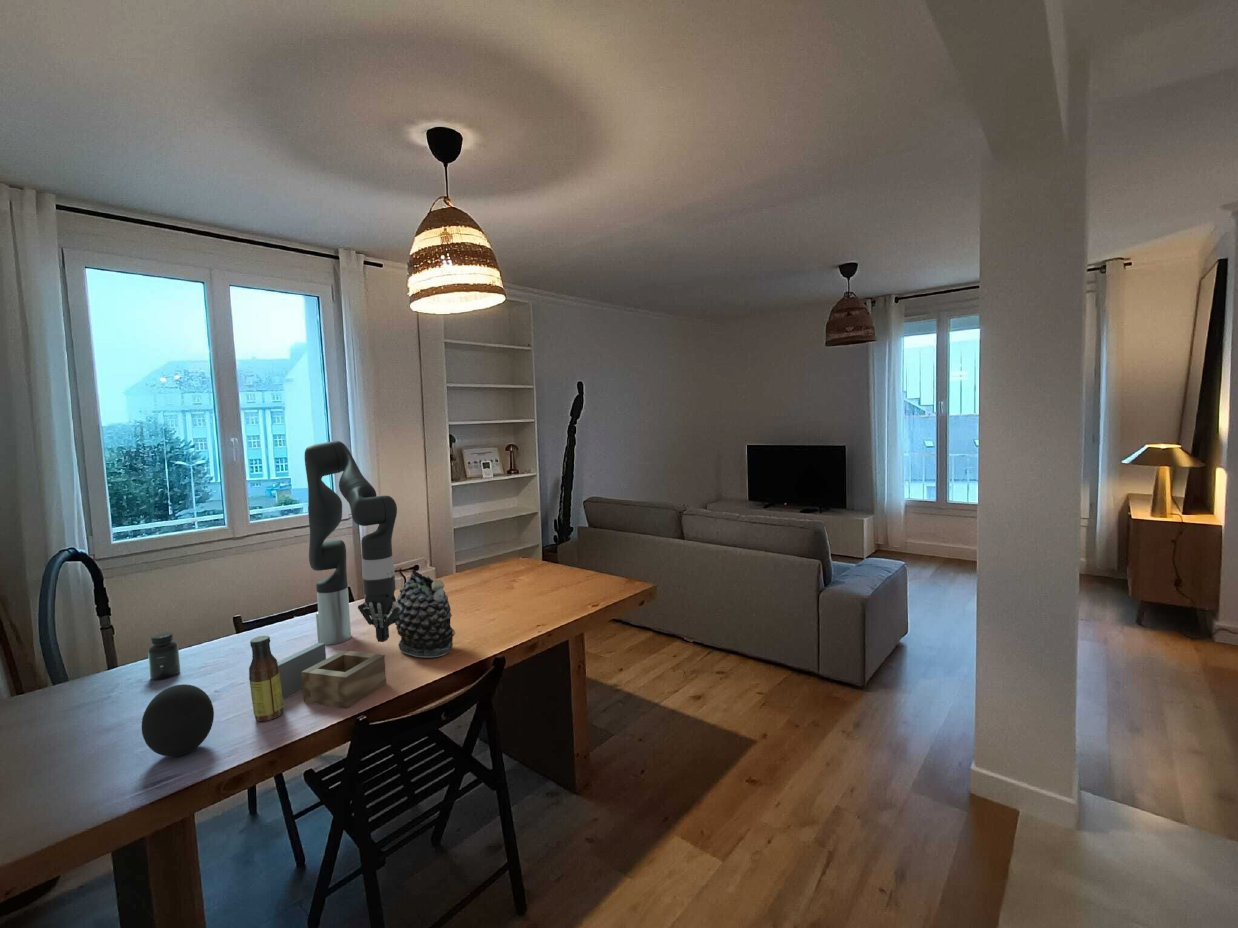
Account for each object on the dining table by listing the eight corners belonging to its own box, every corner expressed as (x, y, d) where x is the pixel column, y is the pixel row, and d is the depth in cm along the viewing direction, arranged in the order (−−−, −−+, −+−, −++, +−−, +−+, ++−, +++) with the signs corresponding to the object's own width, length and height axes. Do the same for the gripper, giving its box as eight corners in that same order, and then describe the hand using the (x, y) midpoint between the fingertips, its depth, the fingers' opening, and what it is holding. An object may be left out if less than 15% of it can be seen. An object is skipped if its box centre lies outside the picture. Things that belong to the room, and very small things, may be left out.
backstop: (271, 699, 147) (268, 665, 146) (320, 672, 162) (318, 642, 161) (278, 700, 146) (275, 666, 145) (327, 673, 161) (324, 643, 160)
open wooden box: (303, 701, 145) (301, 671, 144) (345, 677, 158) (343, 650, 157) (347, 708, 140) (345, 677, 140) (386, 683, 154) (384, 654, 153)
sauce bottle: (278, 707, 142) (272, 630, 141) (288, 714, 138) (281, 636, 137) (248, 718, 137) (242, 638, 136) (258, 726, 133) (251, 644, 132)
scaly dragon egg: (467, 647, 177) (463, 569, 175) (429, 666, 164) (424, 582, 162) (422, 636, 188) (418, 563, 186) (383, 653, 175) (378, 574, 173)
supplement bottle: (145, 682, 160) (141, 641, 159) (158, 672, 166) (154, 632, 165) (173, 678, 162) (169, 637, 161) (184, 668, 168) (181, 629, 167)
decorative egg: (223, 750, 124) (217, 684, 123) (151, 777, 114) (144, 706, 113) (208, 731, 132) (203, 669, 131) (140, 755, 123) (133, 688, 122)
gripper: (346, 577, 141) (351, 644, 143) (390, 579, 137) (394, 648, 139) (368, 569, 149) (372, 633, 150) (410, 571, 145) (414, 637, 146)
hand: (383, 640), depth 144 cm, fingers closed
